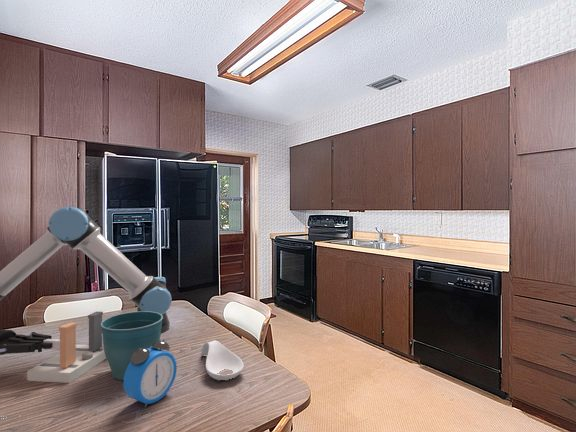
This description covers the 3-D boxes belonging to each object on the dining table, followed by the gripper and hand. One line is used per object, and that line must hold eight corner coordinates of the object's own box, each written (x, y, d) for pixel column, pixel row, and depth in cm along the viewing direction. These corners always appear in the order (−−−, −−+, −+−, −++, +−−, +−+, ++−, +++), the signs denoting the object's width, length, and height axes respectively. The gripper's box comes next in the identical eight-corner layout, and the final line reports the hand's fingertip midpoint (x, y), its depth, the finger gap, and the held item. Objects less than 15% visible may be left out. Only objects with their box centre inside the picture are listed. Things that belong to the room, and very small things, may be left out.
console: (111, 354, 117) (112, 342, 117) (70, 382, 97) (70, 367, 97) (75, 352, 118) (75, 340, 118) (27, 380, 98) (27, 365, 98)
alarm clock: (137, 415, 82) (137, 356, 82) (121, 408, 85) (122, 351, 85) (177, 390, 93) (177, 338, 93) (162, 385, 96) (162, 334, 96)
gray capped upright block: (102, 346, 115) (102, 311, 115) (94, 351, 111) (94, 315, 111) (96, 346, 116) (96, 311, 116) (87, 351, 111) (87, 315, 111)
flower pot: (172, 371, 104) (172, 319, 104) (111, 393, 91) (111, 333, 91) (149, 354, 117) (149, 308, 117) (93, 371, 104) (93, 319, 104)
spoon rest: (249, 379, 100) (250, 356, 100) (213, 390, 94) (213, 366, 94) (221, 352, 120) (221, 333, 120) (189, 359, 114) (189, 339, 113)
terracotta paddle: (76, 361, 104) (76, 322, 104) (66, 368, 99) (66, 327, 99) (69, 361, 104) (69, 322, 104) (58, 367, 99) (58, 327, 99)
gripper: (14, 345, 110) (79, 348, 108) (-26, 362, 97) (46, 366, 95) (14, 323, 110) (79, 325, 108) (-26, 337, 97) (47, 340, 95)
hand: (64, 344), depth 102 cm, fingers closed
